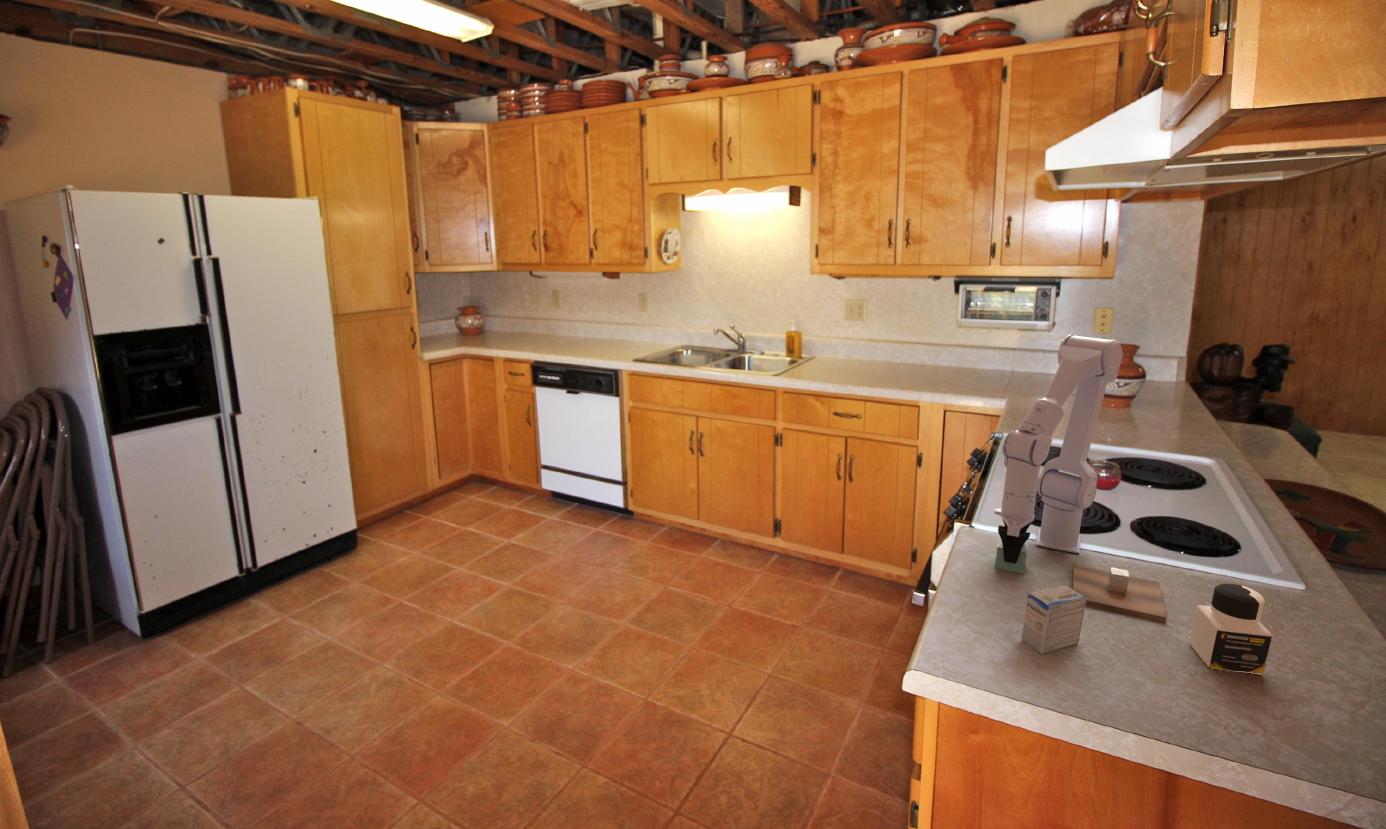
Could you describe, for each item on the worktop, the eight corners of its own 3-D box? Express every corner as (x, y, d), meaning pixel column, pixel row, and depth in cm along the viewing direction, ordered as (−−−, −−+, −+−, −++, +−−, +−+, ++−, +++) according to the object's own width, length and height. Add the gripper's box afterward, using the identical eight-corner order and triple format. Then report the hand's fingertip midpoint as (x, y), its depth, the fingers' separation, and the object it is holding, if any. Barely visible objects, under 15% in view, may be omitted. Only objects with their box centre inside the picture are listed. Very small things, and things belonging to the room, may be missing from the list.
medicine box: (1056, 630, 115) (1063, 583, 113) (1079, 645, 111) (1087, 596, 109) (1020, 640, 112) (1026, 592, 110) (1042, 655, 108) (1050, 606, 106)
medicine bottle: (1208, 669, 104) (1224, 598, 101) (1188, 643, 111) (1202, 576, 108) (1263, 676, 103) (1281, 604, 100) (1239, 649, 110) (1255, 581, 106)
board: (1073, 569, 135) (1073, 565, 135) (1157, 586, 129) (1158, 581, 129) (1072, 601, 124) (1072, 597, 123) (1165, 622, 117) (1166, 617, 117)
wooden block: (1107, 584, 128) (1110, 567, 127) (1125, 587, 127) (1128, 570, 126) (1108, 590, 125) (1111, 573, 125) (1126, 594, 124) (1129, 576, 123)
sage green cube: (997, 557, 141) (1000, 536, 139) (1025, 563, 138) (1028, 542, 137) (994, 567, 136) (997, 546, 135) (1023, 573, 134) (1026, 552, 133)
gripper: (1001, 477, 141) (993, 538, 145) (993, 500, 129) (985, 566, 132) (1039, 483, 138) (1030, 545, 141) (1035, 507, 126) (1025, 575, 129)
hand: (1011, 556), depth 137 cm, fingers closed on sage green cube, 5 cm apart
